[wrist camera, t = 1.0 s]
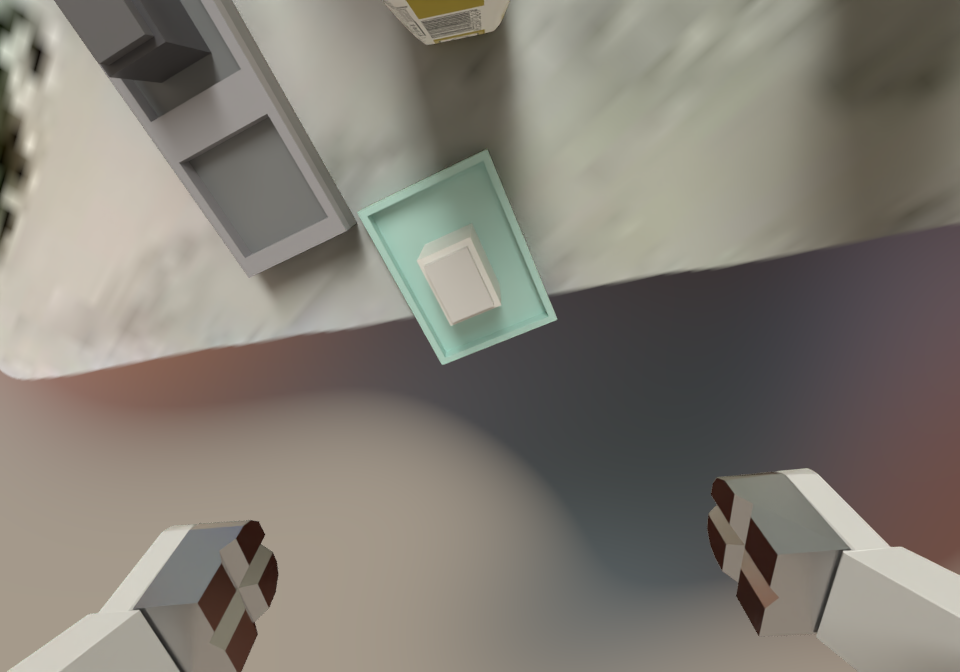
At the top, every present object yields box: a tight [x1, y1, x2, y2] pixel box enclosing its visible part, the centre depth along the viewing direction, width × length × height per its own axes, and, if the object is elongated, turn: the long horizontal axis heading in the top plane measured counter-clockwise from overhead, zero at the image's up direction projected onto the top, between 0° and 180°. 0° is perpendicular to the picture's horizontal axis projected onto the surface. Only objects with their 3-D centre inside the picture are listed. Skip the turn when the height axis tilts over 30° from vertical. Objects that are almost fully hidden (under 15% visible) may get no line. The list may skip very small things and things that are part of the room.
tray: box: [357, 149, 557, 365], centre depth 39 cm, size 12×16×2 cm
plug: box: [417, 223, 501, 326], centre depth 37 cm, size 4×6×6 cm
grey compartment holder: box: [54, 0, 357, 278], centre depth 31 cm, size 10×24×8 cm, turn 24°
